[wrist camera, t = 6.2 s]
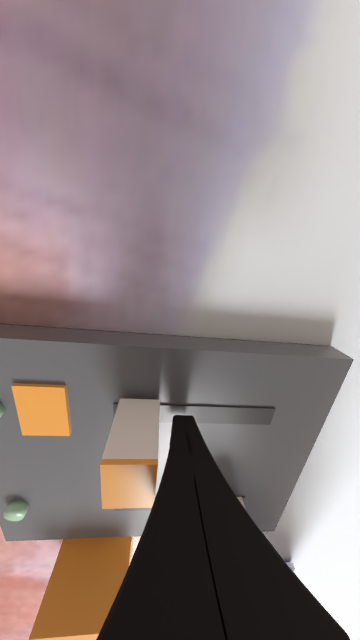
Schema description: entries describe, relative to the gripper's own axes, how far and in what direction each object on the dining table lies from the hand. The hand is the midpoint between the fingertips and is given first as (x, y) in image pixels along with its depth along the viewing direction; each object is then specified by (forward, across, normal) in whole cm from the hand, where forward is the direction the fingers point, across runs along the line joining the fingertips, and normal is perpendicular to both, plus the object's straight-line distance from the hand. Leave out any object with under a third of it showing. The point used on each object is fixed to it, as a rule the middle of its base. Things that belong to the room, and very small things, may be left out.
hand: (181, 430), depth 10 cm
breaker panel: (+3, +1, +4) cm, 5 cm away
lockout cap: (+3, +5, +16) cm, 17 cm away
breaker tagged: (+1, +2, 0) cm, 2 cm away
